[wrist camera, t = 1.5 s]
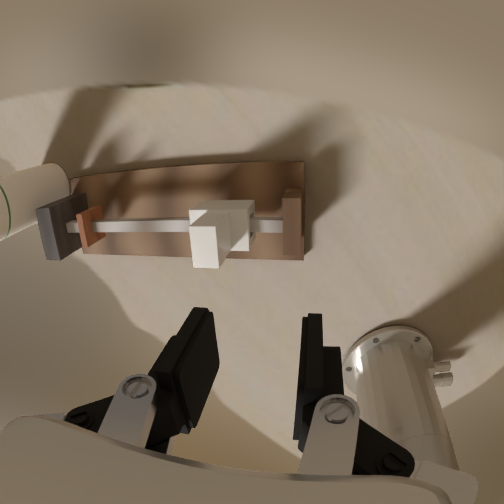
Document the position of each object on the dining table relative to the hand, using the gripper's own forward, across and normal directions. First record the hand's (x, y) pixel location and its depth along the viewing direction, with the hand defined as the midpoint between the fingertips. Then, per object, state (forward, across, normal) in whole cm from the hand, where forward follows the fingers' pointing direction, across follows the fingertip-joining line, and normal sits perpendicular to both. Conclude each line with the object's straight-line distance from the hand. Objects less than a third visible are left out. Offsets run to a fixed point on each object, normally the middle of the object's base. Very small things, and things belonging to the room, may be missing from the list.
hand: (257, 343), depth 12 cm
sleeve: (+18, +6, 0) cm, 19 cm away
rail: (+21, +12, 0) cm, 25 cm away
